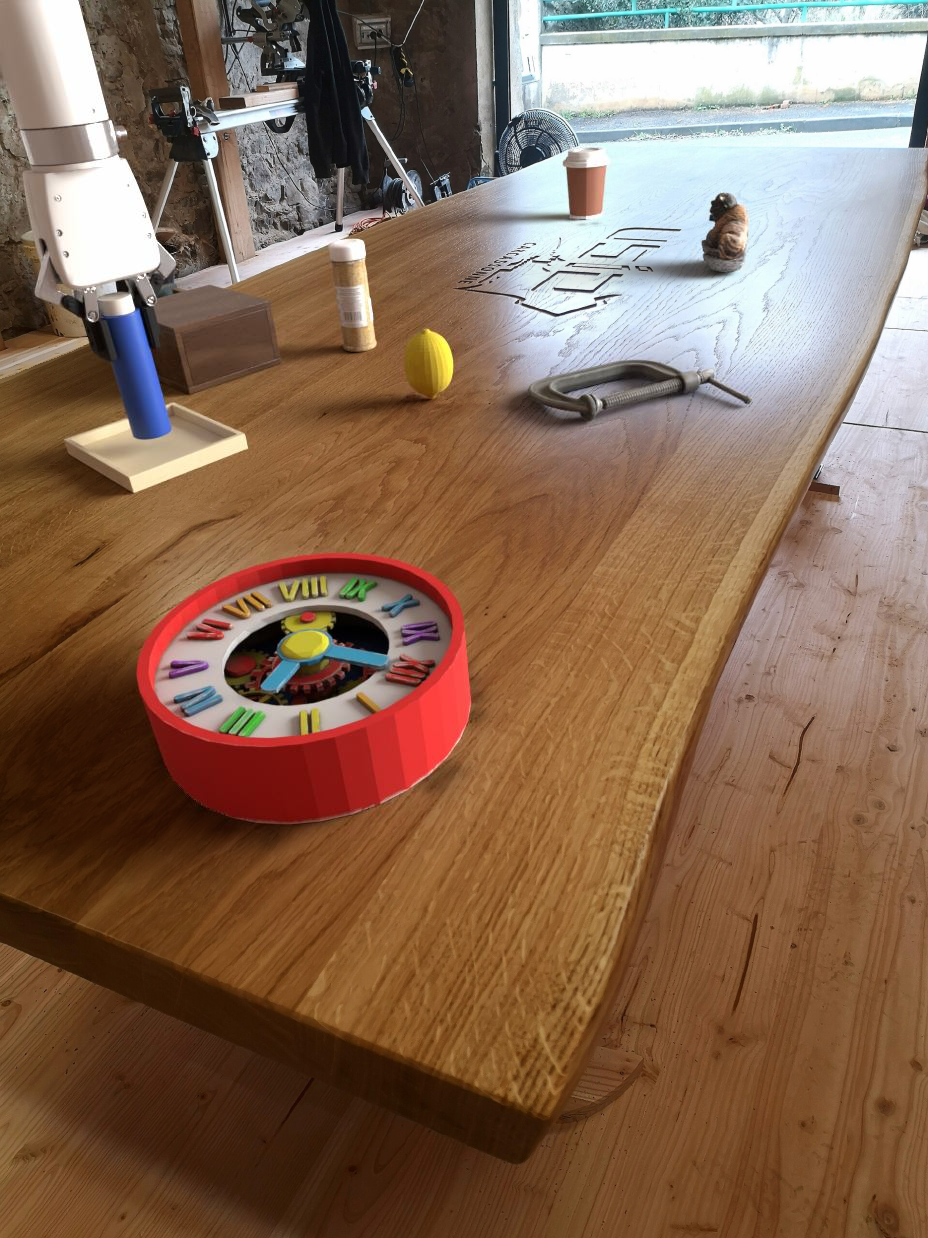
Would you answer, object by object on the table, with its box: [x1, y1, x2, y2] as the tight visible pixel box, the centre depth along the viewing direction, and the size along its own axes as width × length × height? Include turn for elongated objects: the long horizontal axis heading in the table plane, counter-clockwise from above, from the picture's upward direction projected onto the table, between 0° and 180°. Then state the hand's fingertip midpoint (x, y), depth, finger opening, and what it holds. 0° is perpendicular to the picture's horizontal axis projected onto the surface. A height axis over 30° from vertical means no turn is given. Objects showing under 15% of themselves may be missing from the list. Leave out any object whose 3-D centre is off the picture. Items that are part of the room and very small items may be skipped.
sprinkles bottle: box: [327, 238, 377, 353], centre depth 117 cm, size 5×5×14 cm
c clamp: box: [527, 359, 753, 422], centre depth 98 cm, size 20×17×3 cm
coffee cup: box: [562, 146, 611, 221], centre depth 177 cm, size 9×9×12 cm
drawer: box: [98, 282, 187, 313], centre depth 123 cm, size 18×12×6 cm
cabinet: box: [150, 284, 282, 395], centre depth 116 cm, size 15×14×8 cm
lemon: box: [403, 328, 454, 400], centre depth 101 cm, size 6×6×8 cm
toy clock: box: [135, 552, 472, 825], centre depth 57 cm, size 20×6×20 cm
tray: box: [63, 401, 249, 494], centre depth 95 cm, size 15×13×2 cm
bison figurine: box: [701, 191, 749, 273], centre depth 139 cm, size 12×7×10 cm, turn 175°
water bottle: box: [97, 291, 172, 440], centre depth 91 cm, size 4×4×14 cm
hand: (129, 350), depth 90 cm, fingers closed on water bottle, 4 cm apart
